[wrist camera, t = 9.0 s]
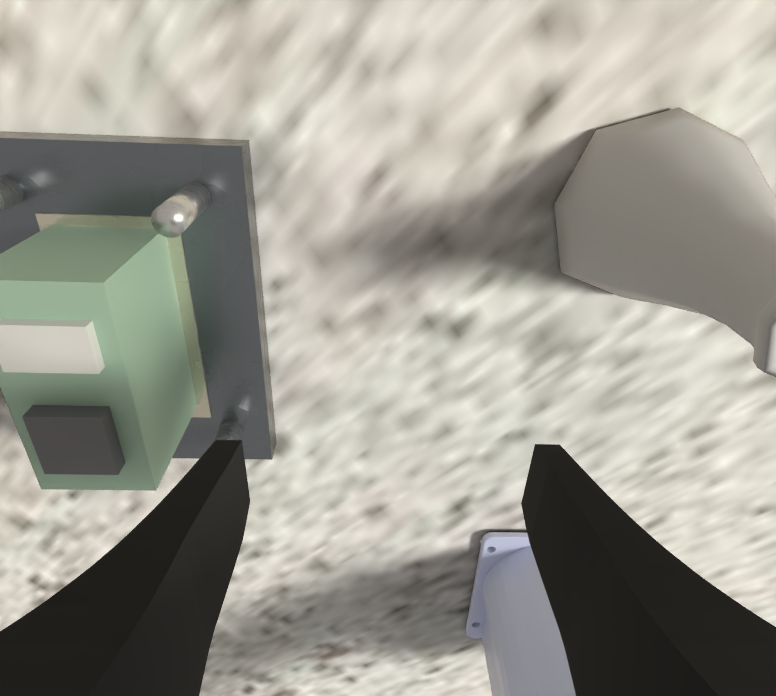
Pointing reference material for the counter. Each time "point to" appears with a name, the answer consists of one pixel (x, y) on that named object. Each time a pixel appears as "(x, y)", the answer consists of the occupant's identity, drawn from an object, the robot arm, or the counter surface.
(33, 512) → the counter surface
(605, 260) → the flask
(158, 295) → the module
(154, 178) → the chassis
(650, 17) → the counter surface
